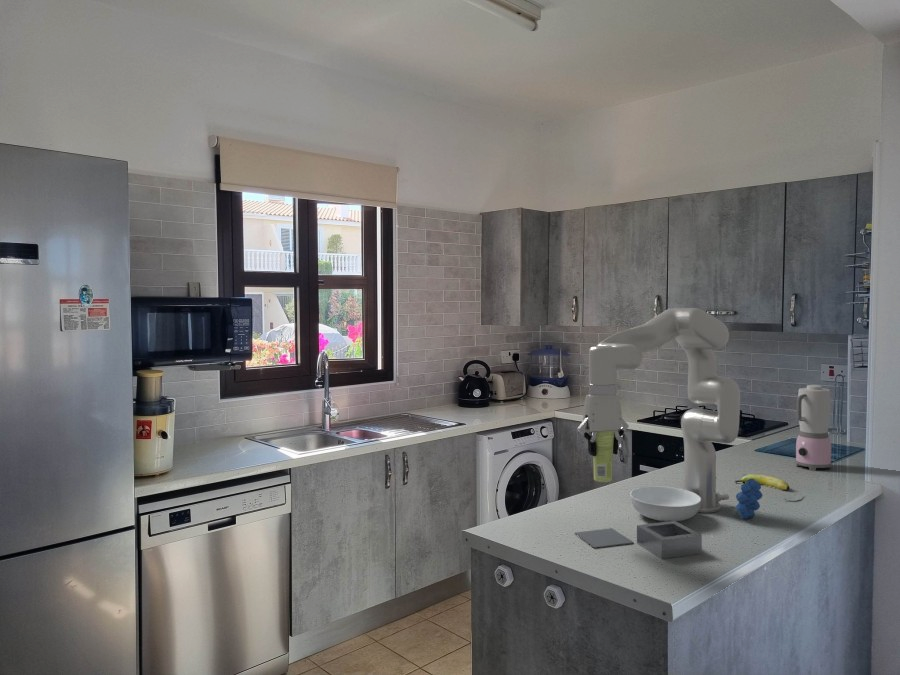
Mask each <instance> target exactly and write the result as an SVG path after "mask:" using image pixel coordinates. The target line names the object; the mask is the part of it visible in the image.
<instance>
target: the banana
mask: <svg viewBox="0 0 900 675" xmlns="http://www.w3.org/2000/svg"><path fill="white" fill-rule="evenodd" d="M749 479H754V480H755V481H757V482H759V483H760V484H761V486H763V485H767V486H766V487H768V486H771V487H770V488H772V487H775V488H774V489H776V488H778V489H777V490H779V489H781V490H780V491H788V490H790V485H789V484H788V483H787V482H786V481H785V480H783V479H780V478H778V477H776V476H775V477H774V476H769V475H764V474H756V473H753V474H746V475H743V477H742V478H741V479H739V480H734V483H735V482H747V481H748V480H749Z"/></svg>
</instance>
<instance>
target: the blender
mask: <svg viewBox="0 0 900 675" xmlns="http://www.w3.org/2000/svg"><path fill="white" fill-rule="evenodd" d="M831 404H832V403H831V390H830V389H829V388H823V386H822V385H817V384H815V385H814V384H808V385H806V387H801V388H798V394H797V398H796V419H797V421H798V424H799V434H798V436H797V438H796V443H795V466H796V467H797V468H798V467H799V466H802V467H805V468H807V467H808V469H809V471H816V470H817V469H825V468H829V469H831V468H832V442H831V438H830V437H829V432H828V431H829V426H830V420H831V412H832V411H831V408H832V407H831V406H832V405H831Z"/></svg>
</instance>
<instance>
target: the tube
mask: <svg viewBox="0 0 900 675" xmlns="http://www.w3.org/2000/svg"><path fill="white" fill-rule="evenodd" d="M613 441H614V431H602V432H597V435H596V438H595V442H596V443H597V455H596V456H592V457H593V480H594V481H595V482H597V483H599V482H600V483H608V482H612V480H613V457H614V455H613Z"/></svg>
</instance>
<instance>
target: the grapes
mask: <svg viewBox="0 0 900 675" xmlns="http://www.w3.org/2000/svg"><path fill="white" fill-rule="evenodd" d="M761 488H762V485H760V483H759V482H757V481H755V480H754V479H749V480H748V481H747V482H746V483H741V486H740V490H741V491H739V492H737V494H736V496H735V497H736V500H737V502H738V503H737V505H736V506H735V507H736V508H735V509H736V511H737V513H738V514H739V518H741V519H742V520H746V519H747V518H748V519H751V518H753V517H754V516H755V515H756V513H755V512H756V511H757V510H759V509H760V507H761V504H760V500H761V499H762V498H763V493H762V491H761Z"/></svg>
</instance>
